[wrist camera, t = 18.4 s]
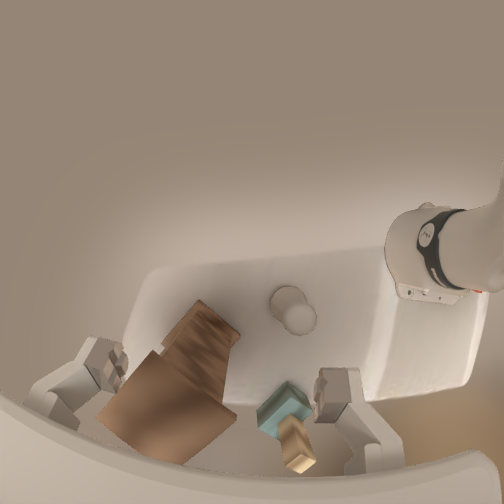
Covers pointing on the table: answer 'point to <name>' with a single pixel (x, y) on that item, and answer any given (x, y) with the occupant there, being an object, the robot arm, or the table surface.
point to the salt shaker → (293, 310)
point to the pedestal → (177, 391)
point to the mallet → (288, 425)
